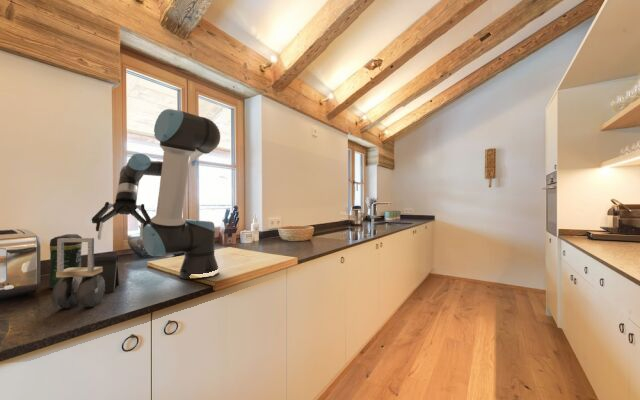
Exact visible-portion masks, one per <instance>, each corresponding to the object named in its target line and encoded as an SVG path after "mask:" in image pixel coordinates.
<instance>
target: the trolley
mask: <svg viewBox="0 0 640 400" xmlns="http://www.w3.org/2000/svg"><path fill="white" fill-rule="evenodd" d="M64 242H82V243H87V267H88V271H93V270H94V267H95V238H94V237H82V238H60V239H57V272H62V271H64ZM104 291H105V281H104V278H103V277H102V276H101V275H94V276H82V277H62V278H61V279H59V280H58V282H57V283H56V284H55V286H54V288H52V293H51V304H52V305H53V306H54V308H56V309H59V310H60V309H61V310H62V309H71V308H73V307H76V306H77V304H78V306H79V307H81V308H91V307H92V308H93V307H97V306H98V305H99V303H101V301H102V299H103V297H104V294H105V293H104Z"/></svg>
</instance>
